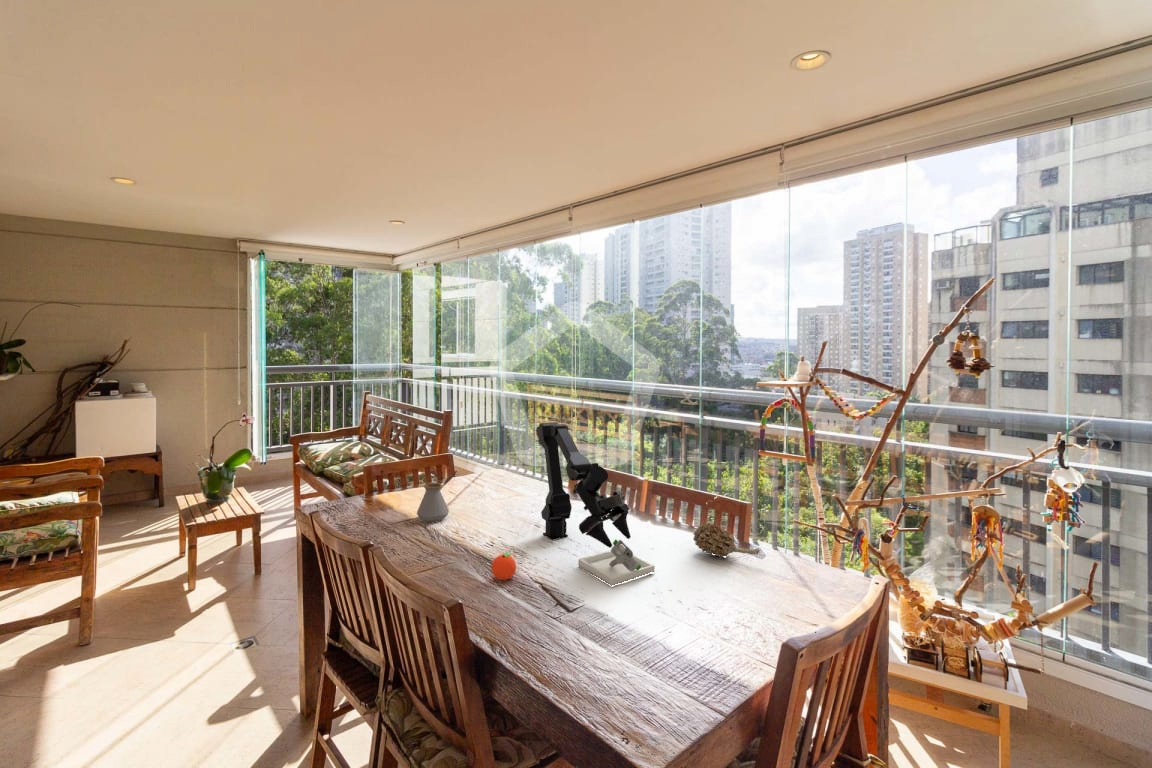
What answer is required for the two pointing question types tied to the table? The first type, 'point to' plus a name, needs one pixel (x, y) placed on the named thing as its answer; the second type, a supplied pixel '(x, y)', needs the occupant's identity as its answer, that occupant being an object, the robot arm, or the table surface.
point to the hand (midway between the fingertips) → (620, 542)
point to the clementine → (503, 567)
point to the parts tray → (612, 568)
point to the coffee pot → (433, 502)
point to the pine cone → (717, 540)
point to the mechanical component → (624, 556)
